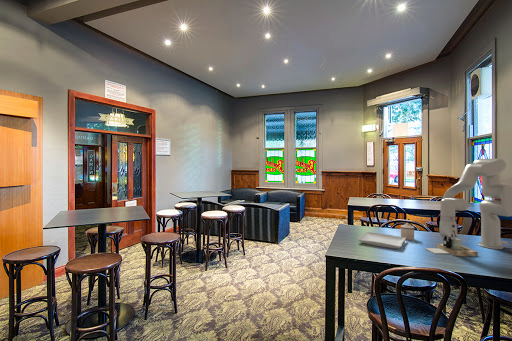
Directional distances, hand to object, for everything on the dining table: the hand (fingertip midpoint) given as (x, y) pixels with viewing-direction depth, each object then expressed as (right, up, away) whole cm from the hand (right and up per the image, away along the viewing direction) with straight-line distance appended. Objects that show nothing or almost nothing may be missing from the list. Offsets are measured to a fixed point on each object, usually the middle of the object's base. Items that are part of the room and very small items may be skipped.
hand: (447, 246), depth 162 cm
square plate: (-32, -4, +20) cm, 38 cm away
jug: (+3, -3, 0) cm, 4 cm away
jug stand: (+6, -3, 0) cm, 6 cm away
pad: (-6, -3, 0) cm, 7 cm away
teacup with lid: (-8, -3, +31) cm, 32 cm away
